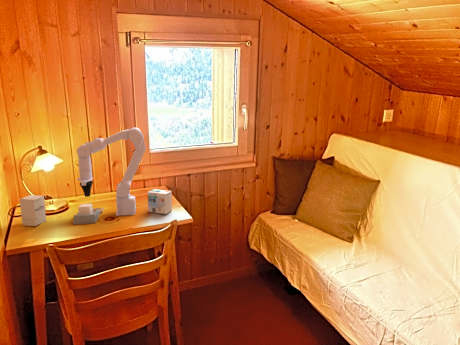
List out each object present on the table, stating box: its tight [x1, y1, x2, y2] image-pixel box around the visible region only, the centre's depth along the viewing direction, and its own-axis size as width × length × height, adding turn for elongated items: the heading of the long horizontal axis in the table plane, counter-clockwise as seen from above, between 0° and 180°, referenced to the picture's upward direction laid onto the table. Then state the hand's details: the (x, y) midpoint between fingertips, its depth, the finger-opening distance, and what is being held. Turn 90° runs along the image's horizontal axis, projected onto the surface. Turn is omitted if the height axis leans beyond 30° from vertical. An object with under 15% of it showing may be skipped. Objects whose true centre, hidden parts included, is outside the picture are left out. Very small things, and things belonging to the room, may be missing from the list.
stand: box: [92, 207, 105, 214], centre depth 189 cm, size 6×6×1 cm
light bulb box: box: [147, 188, 173, 215], centre depth 189 cm, size 11×7×11 cm, turn 70°
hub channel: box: [72, 209, 101, 225], centre depth 177 cm, size 10×14×4 cm
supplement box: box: [19, 194, 47, 227], centre depth 170 cm, size 7×7×13 cm
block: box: [78, 203, 93, 215], centre depth 176 cm, size 5×5×6 cm
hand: (87, 196), depth 181 cm, fingers closed
